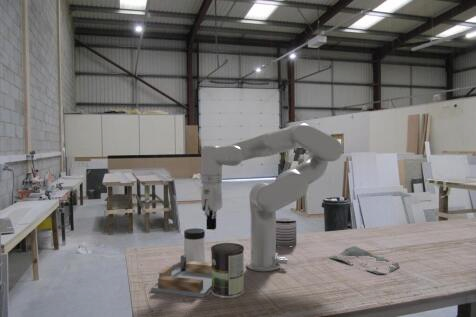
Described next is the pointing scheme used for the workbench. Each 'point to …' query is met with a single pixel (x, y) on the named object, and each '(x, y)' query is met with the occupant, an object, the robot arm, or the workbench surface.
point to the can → (285, 232)
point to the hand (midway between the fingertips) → (211, 228)
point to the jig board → (183, 274)
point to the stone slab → (360, 252)
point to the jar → (194, 245)
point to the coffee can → (227, 270)
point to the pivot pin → (183, 263)
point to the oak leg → (199, 267)
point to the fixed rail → (180, 284)
